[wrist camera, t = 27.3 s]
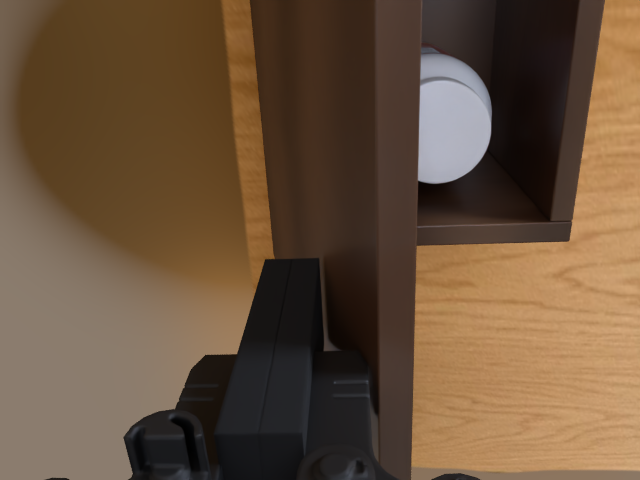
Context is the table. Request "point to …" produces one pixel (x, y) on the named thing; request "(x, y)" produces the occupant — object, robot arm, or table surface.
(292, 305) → the robot arm
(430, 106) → the pill bottle
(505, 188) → the chest
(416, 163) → the lid
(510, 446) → the table surface
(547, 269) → the table surface
